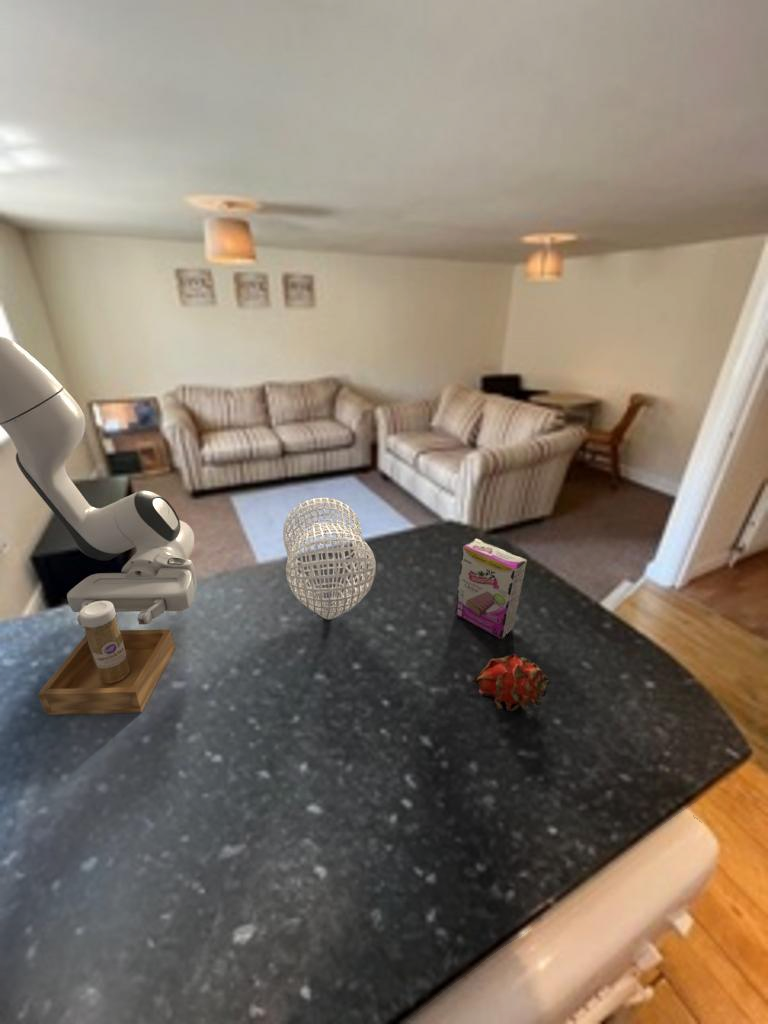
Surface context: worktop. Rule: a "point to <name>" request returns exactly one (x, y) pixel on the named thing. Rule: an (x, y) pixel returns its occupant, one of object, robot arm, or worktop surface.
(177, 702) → the worktop surface
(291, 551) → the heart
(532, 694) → the dragon fruit
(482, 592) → the candy bar box
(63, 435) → the robot arm
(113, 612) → the sprinkles bottle
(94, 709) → the holder
